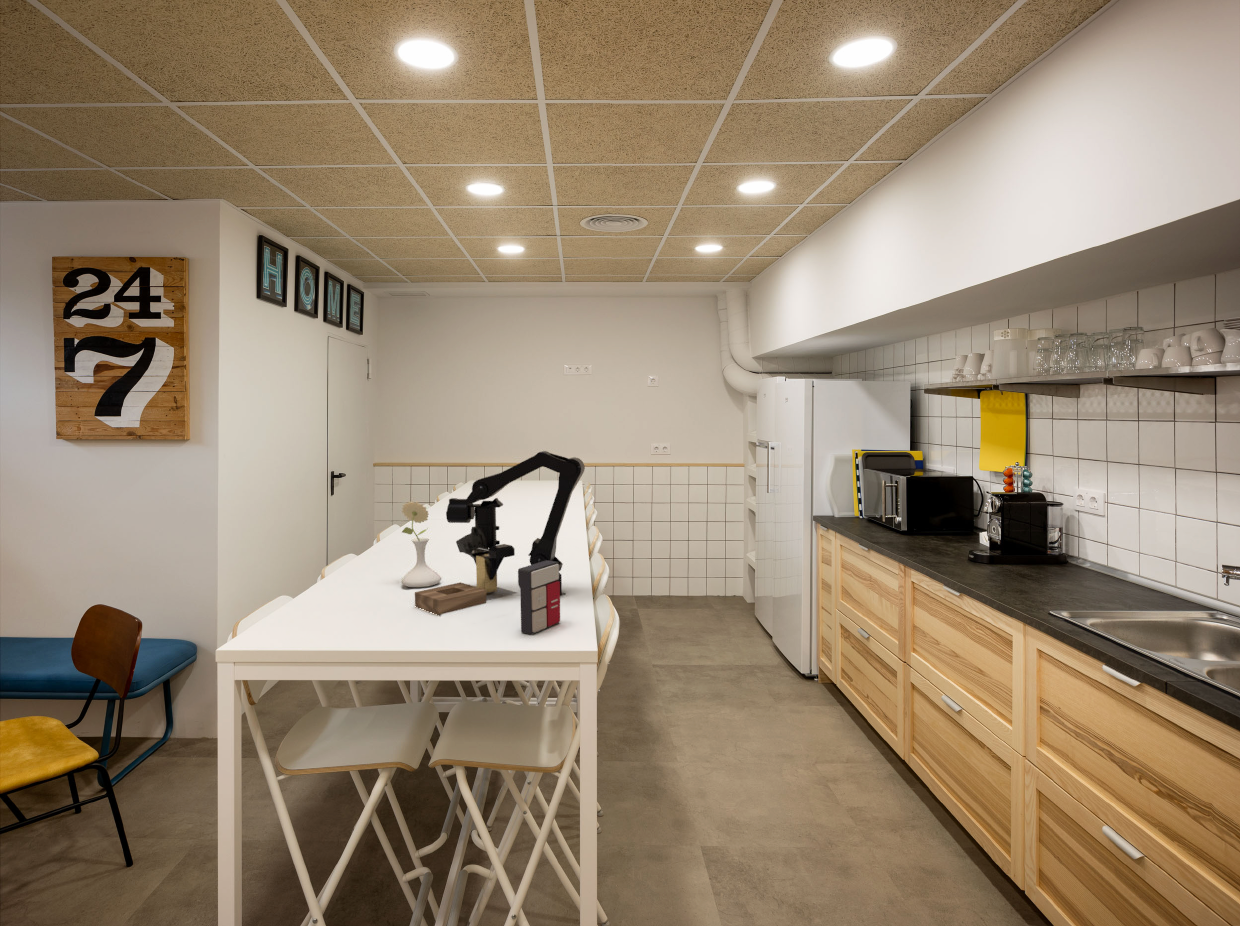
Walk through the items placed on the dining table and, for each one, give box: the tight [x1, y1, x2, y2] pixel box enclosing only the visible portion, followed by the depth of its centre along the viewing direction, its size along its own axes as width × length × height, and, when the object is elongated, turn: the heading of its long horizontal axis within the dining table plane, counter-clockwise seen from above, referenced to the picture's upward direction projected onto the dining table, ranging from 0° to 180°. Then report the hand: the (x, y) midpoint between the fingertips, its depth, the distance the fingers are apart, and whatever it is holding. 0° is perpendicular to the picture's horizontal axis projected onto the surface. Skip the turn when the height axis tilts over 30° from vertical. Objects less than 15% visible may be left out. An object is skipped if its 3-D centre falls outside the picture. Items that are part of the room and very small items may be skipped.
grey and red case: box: [517, 560, 561, 635], centre depth 161 cm, size 11×4×15 cm, turn 148°
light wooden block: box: [475, 554, 498, 593], centre depth 191 cm, size 4×4×10 cm
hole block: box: [414, 582, 487, 616], centre depth 181 cm, size 12×14×4 cm
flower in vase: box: [400, 501, 442, 588], centre depth 202 cm, size 13×11×25 cm
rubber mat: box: [486, 586, 518, 602], centre depth 192 cm, size 12×12×1 cm
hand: (486, 578), depth 191 cm, fingers closed on light wooden block, 4 cm apart
